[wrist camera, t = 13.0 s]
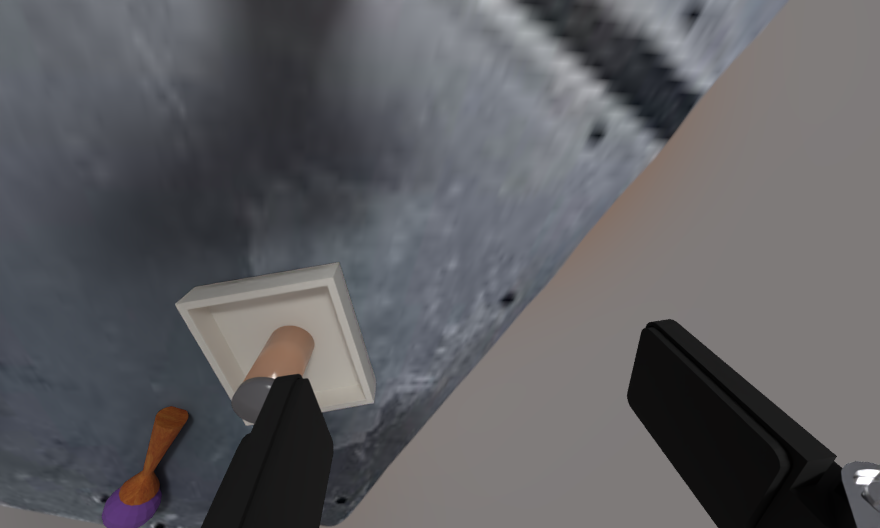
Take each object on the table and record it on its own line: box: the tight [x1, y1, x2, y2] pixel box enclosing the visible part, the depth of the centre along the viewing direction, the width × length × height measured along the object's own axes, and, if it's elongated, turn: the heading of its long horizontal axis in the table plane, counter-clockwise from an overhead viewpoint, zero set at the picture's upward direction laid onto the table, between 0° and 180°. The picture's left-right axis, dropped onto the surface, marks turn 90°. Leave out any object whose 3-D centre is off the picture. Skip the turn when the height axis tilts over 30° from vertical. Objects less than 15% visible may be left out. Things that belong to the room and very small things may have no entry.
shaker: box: [231, 326, 315, 424], centre depth 35 cm, size 5×5×9 cm
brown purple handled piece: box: [102, 406, 188, 528], centre depth 44 cm, size 6×6×20 cm
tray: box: [175, 262, 376, 426], centre depth 38 cm, size 18×16×4 cm
